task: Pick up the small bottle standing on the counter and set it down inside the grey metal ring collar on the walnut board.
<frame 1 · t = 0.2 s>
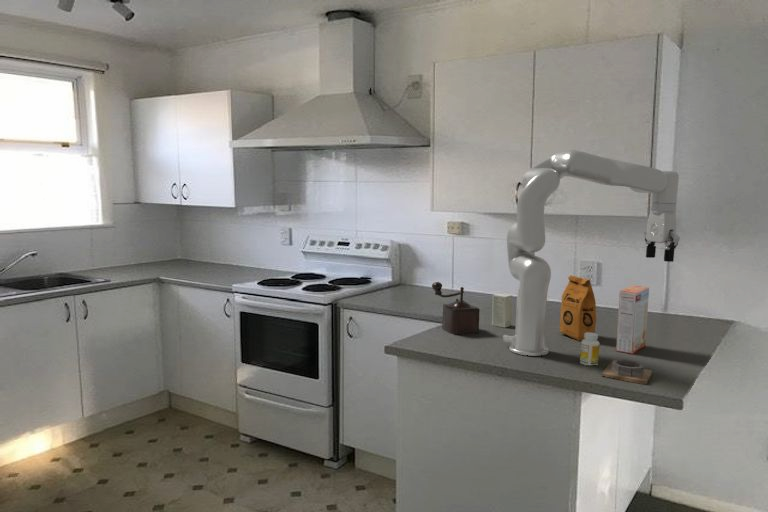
hand: (659, 259, 208), 31 cm above the worktop, tool pointing down, fingers open, 9 cm apart
skincare box: (500, 326, 239), on the worktop
supplement bottle: (588, 364, 192), on the worktop
cracker box: (630, 349, 211), on the worktop
manual coffee grinder: (453, 331, 229), on the worktop
coffee package: (577, 337, 225), on the worktop
socket board: (627, 375, 182), on the worktop
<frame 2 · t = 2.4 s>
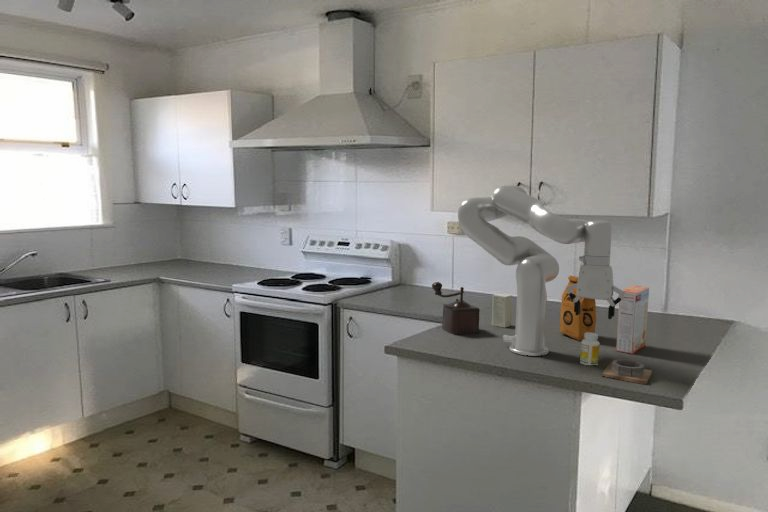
hand: (593, 316, 190), 15 cm above the worktop, tool pointing down, fingers open, 9 cm apart
nothing on the worktop moved.
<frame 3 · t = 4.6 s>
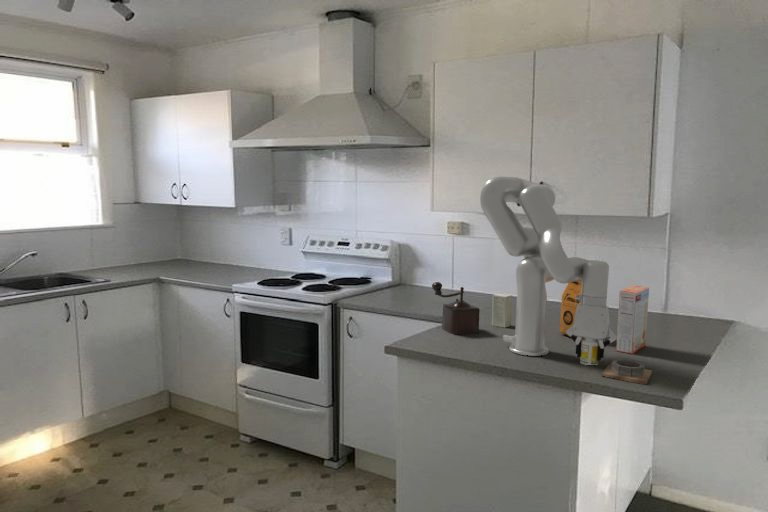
hand: (589, 357, 192), 2 cm above the worktop, tool pointing down, fingers closed on supplement bottle, 5 cm apart
supplement bottle: (588, 364, 192), on the worktop, touching gripper
everything else where it was.
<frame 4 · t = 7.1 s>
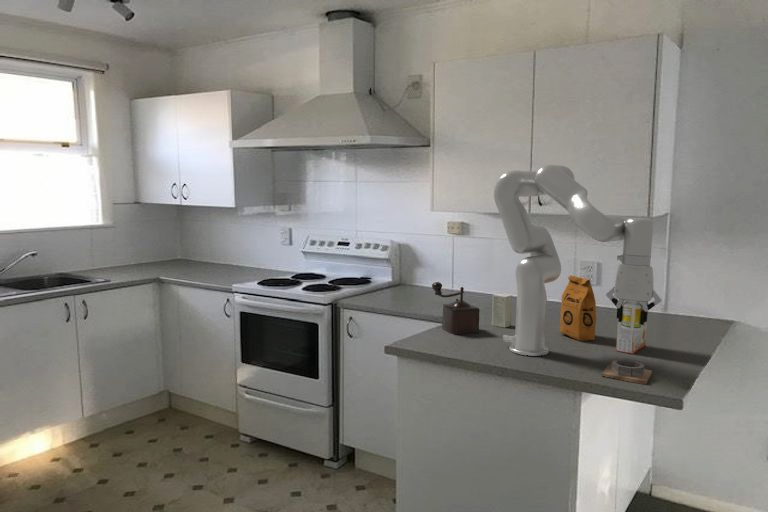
hand: (631, 322, 180), 16 cm above the worktop, tool pointing down, fingers closed on supplement bottle, 5 cm apart
supplement bottle: (630, 329, 180), point 14 cm above the worktop, touching gripper
everything else where it was.
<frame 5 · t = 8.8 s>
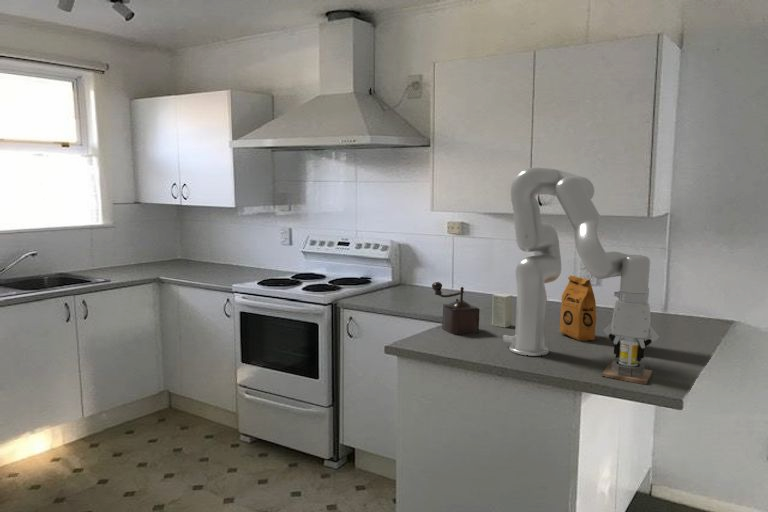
hand: (628, 357, 181), 5 cm above the worktop, tool pointing down, fingers closed on supplement bottle, 5 cm apart
supplement bottle: (628, 365, 181), point 3 cm above the worktop, touching gripper
everything else where it was.
when the fingers open (4 cm above the worktop, at t = 9.9 s): supplement bottle drops 1 cm, resting on socket board.
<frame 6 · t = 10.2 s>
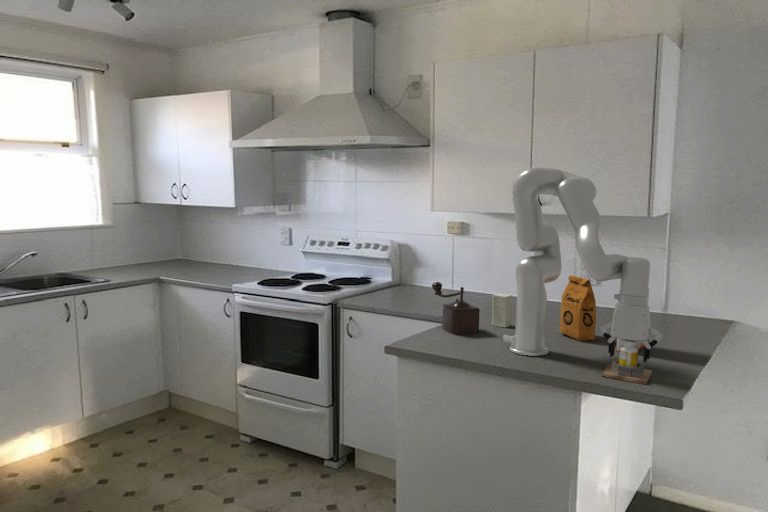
hand: (628, 358, 181), 5 cm above the worktop, tool pointing down, fingers open, 8 cm apart
supplement bottle: (626, 372, 182), point 1 cm above the worktop, touching socket board
everything else where it was.
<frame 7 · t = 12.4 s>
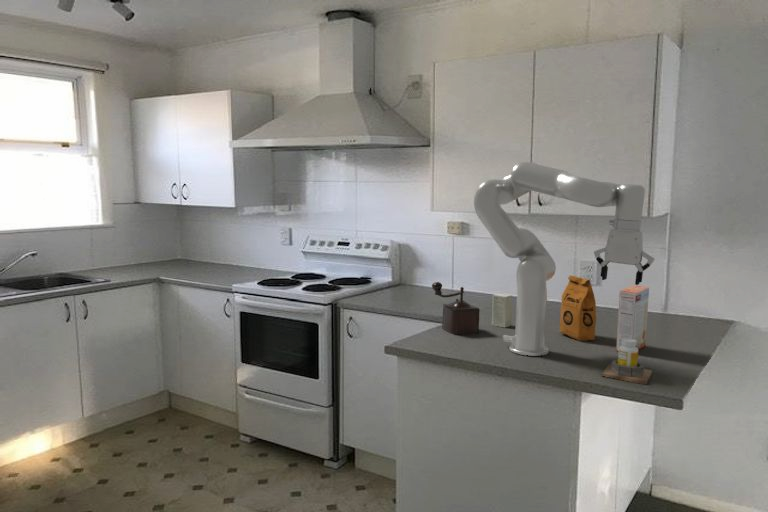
hand: (620, 281, 187), 26 cm above the worktop, tool pointing down, fingers open, 9 cm apart
nothing on the worktop moved.
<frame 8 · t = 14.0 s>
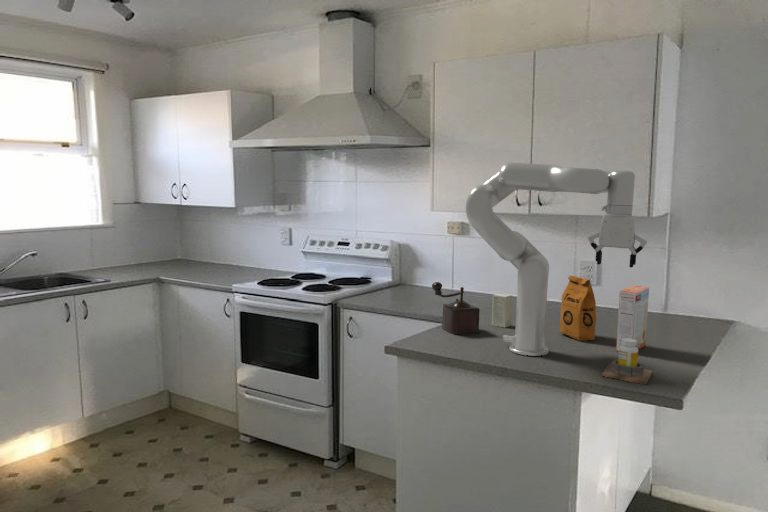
hand: (615, 265, 194), 30 cm above the worktop, tool pointing down, fingers open, 9 cm apart
nothing on the worktop moved.
at the end: supplement bottle 0.2 cm off-centre on the socket board, point 0.8 cm above the socket board's base; supplement bottle tilted 0°; the gripper is holding nothing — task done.
